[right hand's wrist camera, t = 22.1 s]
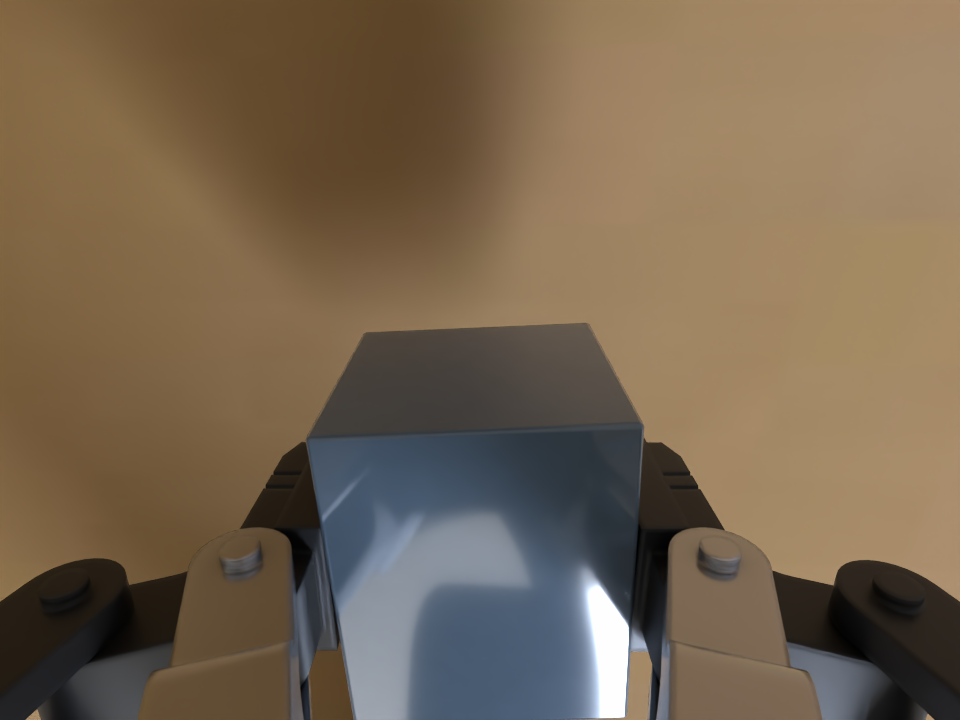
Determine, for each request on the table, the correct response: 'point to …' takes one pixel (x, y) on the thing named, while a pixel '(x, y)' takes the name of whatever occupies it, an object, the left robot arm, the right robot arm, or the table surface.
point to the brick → (481, 523)
